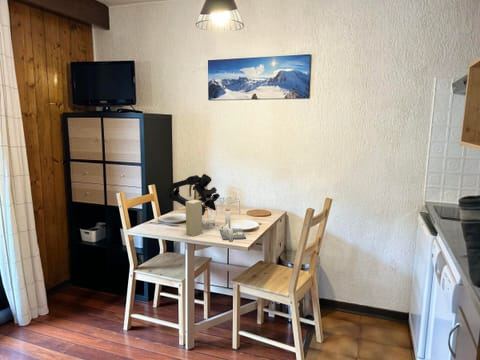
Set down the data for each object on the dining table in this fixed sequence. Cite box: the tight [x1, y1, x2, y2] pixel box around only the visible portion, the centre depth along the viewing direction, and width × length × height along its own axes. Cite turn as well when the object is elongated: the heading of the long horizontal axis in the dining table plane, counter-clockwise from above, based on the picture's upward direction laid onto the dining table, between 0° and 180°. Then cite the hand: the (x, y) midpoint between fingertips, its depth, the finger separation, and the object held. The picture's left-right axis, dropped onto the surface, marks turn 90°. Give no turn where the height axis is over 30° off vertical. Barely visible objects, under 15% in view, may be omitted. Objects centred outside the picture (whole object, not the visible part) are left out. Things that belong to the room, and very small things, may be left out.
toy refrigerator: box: [185, 199, 203, 237], centre depth 218 cm, size 8×7×21 cm
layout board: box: [219, 229, 247, 241], centre depth 217 cm, size 16×14×1 cm
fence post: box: [224, 207, 232, 228], centre depth 218 cm, size 8×3×15 cm, turn 175°
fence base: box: [222, 225, 234, 243], centre depth 210 cm, size 10×4×8 cm, turn 25°
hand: (215, 210), depth 225 cm, fingers closed
